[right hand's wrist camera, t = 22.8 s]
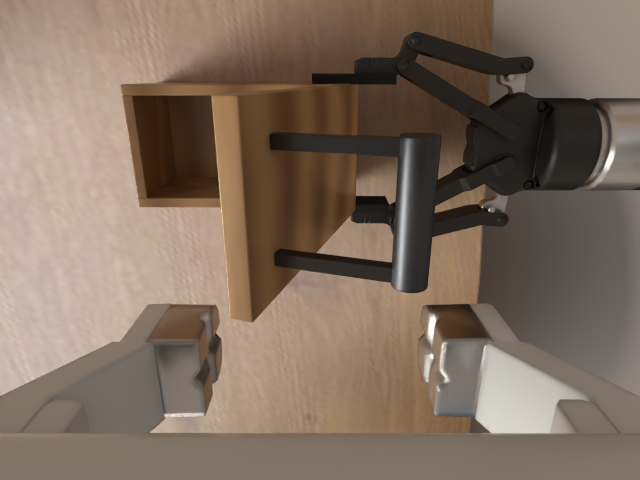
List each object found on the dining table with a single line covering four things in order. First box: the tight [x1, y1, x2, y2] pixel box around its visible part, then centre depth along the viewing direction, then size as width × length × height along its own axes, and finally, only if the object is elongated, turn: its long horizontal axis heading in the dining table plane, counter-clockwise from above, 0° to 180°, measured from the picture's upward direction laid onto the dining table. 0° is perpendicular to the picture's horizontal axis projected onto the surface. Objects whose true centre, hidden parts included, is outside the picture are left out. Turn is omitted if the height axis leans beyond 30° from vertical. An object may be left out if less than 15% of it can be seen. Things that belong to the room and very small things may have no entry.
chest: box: [121, 82, 341, 207], centre depth 39 cm, size 18×10×9 cm, turn 90°
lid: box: [212, 84, 441, 322], centre depth 25 cm, size 18×10×8 cm
